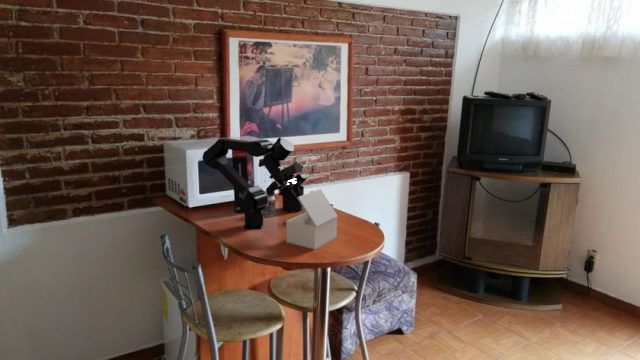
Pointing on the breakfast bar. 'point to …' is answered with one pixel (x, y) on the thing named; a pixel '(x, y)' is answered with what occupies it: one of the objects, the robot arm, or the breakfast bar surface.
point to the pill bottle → (269, 207)
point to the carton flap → (317, 207)
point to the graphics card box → (242, 173)
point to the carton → (310, 232)
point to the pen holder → (292, 203)
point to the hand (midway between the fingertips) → (301, 202)
